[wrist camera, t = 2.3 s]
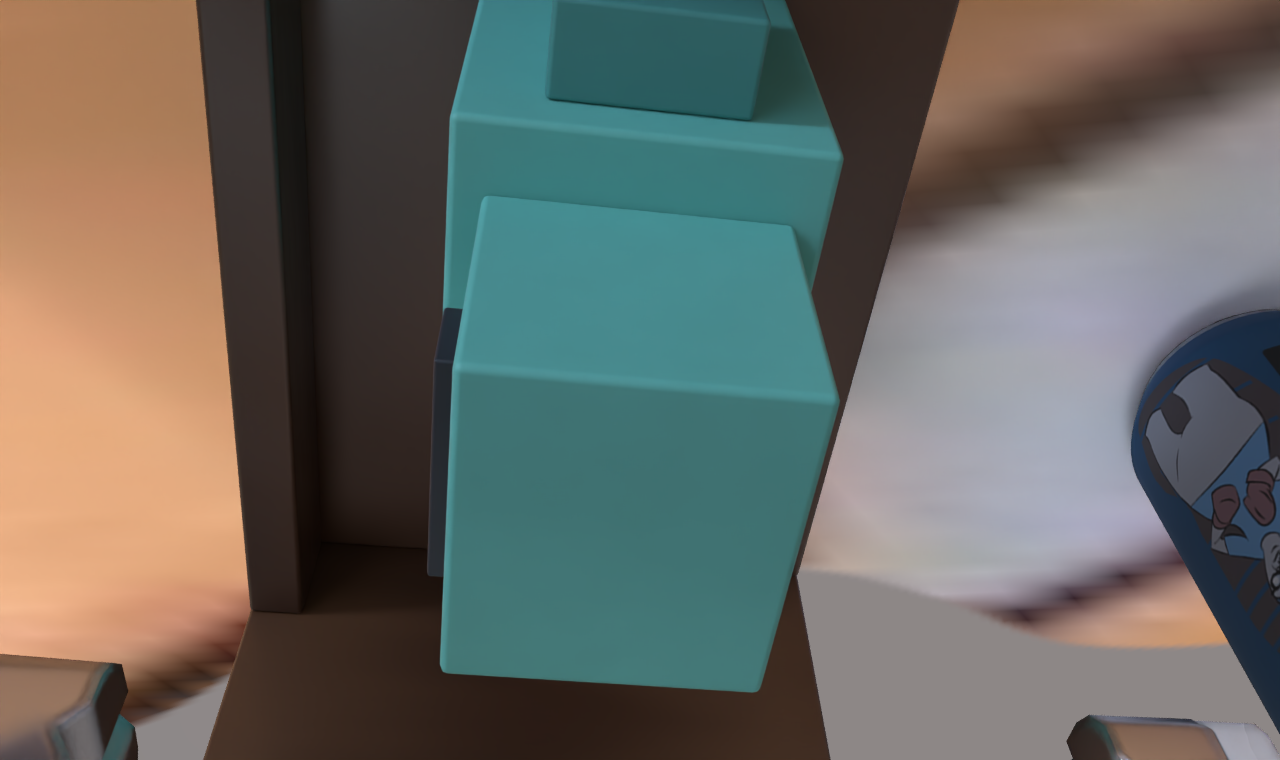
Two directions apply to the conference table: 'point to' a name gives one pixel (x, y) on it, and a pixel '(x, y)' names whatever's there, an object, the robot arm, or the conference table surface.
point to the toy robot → (629, 341)
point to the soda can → (1222, 479)
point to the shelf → (403, 381)
